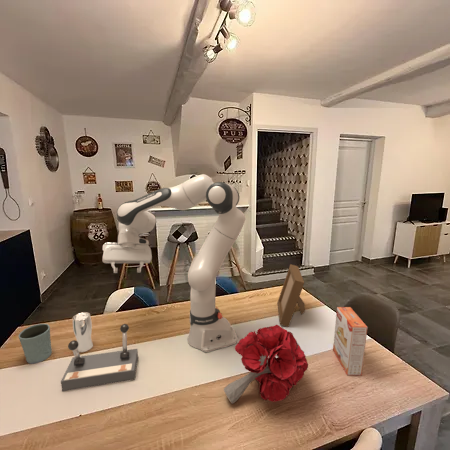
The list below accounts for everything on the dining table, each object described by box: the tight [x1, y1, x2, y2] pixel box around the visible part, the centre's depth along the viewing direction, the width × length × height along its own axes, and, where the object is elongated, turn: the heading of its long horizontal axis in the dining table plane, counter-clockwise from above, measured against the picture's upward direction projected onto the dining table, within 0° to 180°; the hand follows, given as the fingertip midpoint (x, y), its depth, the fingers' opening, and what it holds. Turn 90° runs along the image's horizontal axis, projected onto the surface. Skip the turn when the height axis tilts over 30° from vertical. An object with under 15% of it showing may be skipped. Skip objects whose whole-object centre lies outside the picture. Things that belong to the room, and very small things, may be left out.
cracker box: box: [332, 306, 369, 376], centre depth 101 cm, size 14×6×21 cm, turn 178°
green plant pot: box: [18, 323, 53, 365], centre depth 105 cm, size 10×10×12 cm
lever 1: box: [67, 339, 85, 366], centre depth 93 cm, size 3×3×13 cm
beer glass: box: [72, 311, 94, 353], centre depth 110 cm, size 7×7×15 cm
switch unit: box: [60, 348, 139, 392], centre depth 97 cm, size 24×12×4 cm, turn 103°
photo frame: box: [277, 263, 306, 328], centre depth 134 cm, size 15×22×25 cm
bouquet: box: [223, 324, 309, 405], centre depth 88 cm, size 22×24×30 cm
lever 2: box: [119, 323, 130, 359], centre depth 100 cm, size 3×3×13 cm
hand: (127, 272), depth 110 cm, fingers open, 8 cm apart
